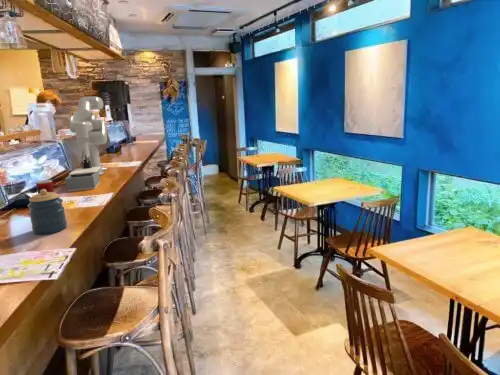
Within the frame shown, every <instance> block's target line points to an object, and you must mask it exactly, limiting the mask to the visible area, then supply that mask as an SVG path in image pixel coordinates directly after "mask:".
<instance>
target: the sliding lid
mask: <svg viewBox="0 0 500 375" xmlns="http://www.w3.org/2000/svg"><path fill="white" fill-rule="evenodd" d="M88 162H89V168H84V162H83V160H81V162H80V163H81V167H79V168H78V167H77V168H75V169H73V170H72V171H71V172H69V173H68V176H69V175H76V174H87V173H96V172H97V171H98V170H99V169H100V168H101V167H102V166H101V167H100V166H99V167H92V161H91V160H88Z"/></svg>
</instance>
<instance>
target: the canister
mask: <svg viewBox="0 0 500 375" xmlns="http://www.w3.org/2000/svg"><path fill="white" fill-rule="evenodd" d="M60 196H61V195H60V194H59V193H56V192H55V191H54V192H47V190H45V189H42V190H40V194H38V193H36V194H34V195H32V196H31V197H30V198H29V199H28V201H29V203H28V204H27V208H28V209H29V212H28V214H29V218H30V222H31V229H32V232H33V234H35V235H41V236H43V235H50V234H54V233H57V232H61V231H63V230H65V229H66V228H67V227H68V223H67V222H68V221H67V219H66V213H65V207H64V206H63V201H64V200H63V199H62V198H60Z"/></svg>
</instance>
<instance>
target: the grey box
mask: <svg viewBox="0 0 500 375" xmlns="http://www.w3.org/2000/svg"><path fill="white" fill-rule="evenodd" d="M64 180H65V181H64V182H65V186H66V191H67V192H76V191H87V190H95V189H96V188H97V187H98V186H99V184H100V183H101V182H100V175H99V173H98V171H97V172H96V173H87V174H76V175H69V174H68V175H67V177H65V178H64Z"/></svg>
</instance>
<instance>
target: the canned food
mask: <svg viewBox="0 0 500 375" xmlns="http://www.w3.org/2000/svg"><path fill="white" fill-rule="evenodd" d="M35 184H36V190H37V194H40V190H42V189H45V190H47V192H55V188H54V185H53V184H54V183H53V180H52V179H42V180H38V181H36V182H35Z"/></svg>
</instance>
